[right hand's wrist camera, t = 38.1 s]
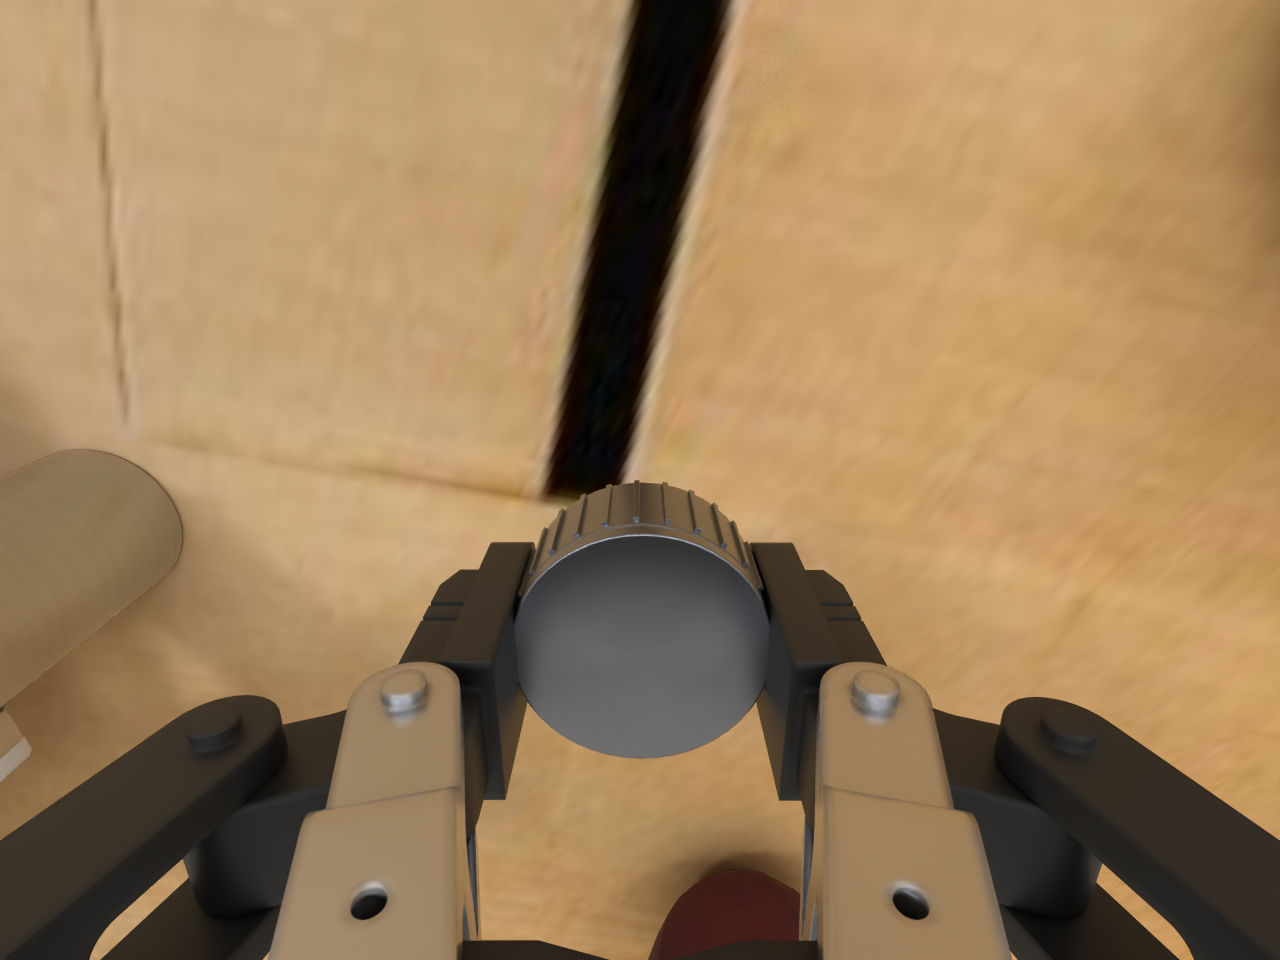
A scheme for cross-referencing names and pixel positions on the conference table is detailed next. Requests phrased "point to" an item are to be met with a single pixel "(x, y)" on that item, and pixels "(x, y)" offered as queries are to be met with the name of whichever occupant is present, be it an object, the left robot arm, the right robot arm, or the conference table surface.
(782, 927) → the potato
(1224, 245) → the conference table surface
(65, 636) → the bottle
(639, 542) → the cap
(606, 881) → the conference table surface
